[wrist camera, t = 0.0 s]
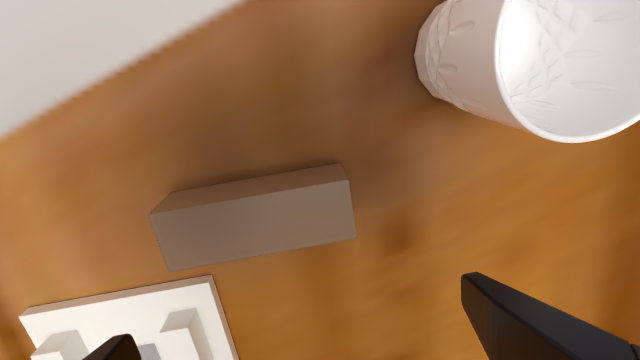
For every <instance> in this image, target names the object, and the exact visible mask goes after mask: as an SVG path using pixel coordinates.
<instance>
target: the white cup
mask: <svg viewBox="0 0 640 360" xmlns="http://www.w3.org/2000/svg"><path fill="white" fill-rule="evenodd" d="M414 58H415V62H416V67H417V72H418V77H419V80H420V81H421V82H422V83H423V85H424V86H425V87H426V88H427V90H428V91H429V92H430V93H431V95H432V96H433V97H436V98H438V99H441V100H443V101H446V102H448V103H450V104H453V105H455V106H456V107H458V108H459V109H462V110H465V111H468V112H470V113H472V114H475V115H478V116H480V117H483V118H486V119H489V120H492V121H495V122H498V123H501V124H504V125H507V126H510V127H513V128H516V129H519V130H522V131H525V132H528V133H531V134H534V135H537V136H540V137H542V138H545V139H548V140H552V141H557V142H564V143H581V142H589V141H594V140H598V139H601V138H605V137H608V136H610V135H613V134H615V133H617V132H619V131H621V130H623V129H625V128H627V127H629V126H631V125H632V124H634V123H635V122H637V121H638V120H640V0H446V1H444V2H443V3H441V4H439V5H438V6H436V7H435V8H434V9H433V11H432V12H431V14H430V15H429V17H428V18H427V20H426V21H425V23H424V24H423V25H422V27H421V28H420V30H419V34H418V39H417V44H416V49H415V54H414Z"/></svg>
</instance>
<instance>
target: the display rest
mask: <svg viewBox="0 0 640 360" xmlns="http://www.w3.org/2000/svg"><path fill="white" fill-rule="evenodd" d="M19 319H20V320H21V322H22V324H23V326H24V327H25V329H26V331H27V332H28V334H29V336H30V338H31V339H32V341H33V343H34V345H35V346H36V348H37V350H36V351H35V352H34V353H33V354H32V355H31V356H30V357H31V359H32V360H82V359H83V358H85V357H86V356H87V355H89V354H90V353H91V352H93V351H94V350H95V349H97V348H98V347H99V346H101V345H102V344H103V343H104V342H106V341H107V340H108V339H110V338H111V337H113V336H116V335H121V334H131V335H132V336H133V338H134V341H135V343H136V345H137V348H138V350H139V352H140V354H141V358H142V360H239V358H238V355H237V352H236V349H235V345H234V342H233V339H232V336H231V333H230V330H229V327H228V324H227V320H226V317H225V314H224V311H223V308H222V305H221V302H220V298H219V295H218V292H217V289H216V286H215V283H214V280H213V277H212V275H206V276H201V277H195V278H189V279H184V280H178V281H173V282H167V283H162V284H156V285H151V286H145V287H139V288H134V289H128V290H123V291H117V292H112V293H106V294H101V295H95V296H90V297H84V298H78V299H73V300H67V301H62V302H56V303H51V304H45V305H40V306H34V307H29V308H28V309H27V310H26V311H24V312H23V313H22V314H21V315H20V316H19Z"/></svg>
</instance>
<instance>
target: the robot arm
mask: <svg viewBox="0 0 640 360" xmlns="http://www.w3.org/2000/svg"><path fill="white" fill-rule="evenodd" d="M461 301H462V305H463V308H464V310H465V312H466V314H467V316H468V318H469V320H470V322H471V324H472V326H473V328H474V330H475V332H476V334H477V336H478V338H479V340H480V342H481V344H482V346H483V348H484V350H485V352H486V354H487V356H488V357H489V359H490V360H640V347H639V346H637V345H635V344H630V343H629V342H628V341H626V340H624V339H622V338H619V337H617V336H615V335H613V334H611V333H609V332H606V331H604V330H602V329H600V328H598V327H596V326H593V325H591V324H589V323H587V322H585V321H583V320H580V319H578V318H576V317H574V316H572V315H570V314H567V313H565V312H563V311H561V310H559V309H557V308H554V307H552V306H550V305H548V304H546V303H544V302H541V301H539V300H537V299H535V298H533V297H531V296H528V295H526V294H524V293H522V292H520V291H518V290H515V289H513V288H511V287H509V286H507V285H505V284H502V283H500V282H498V281H496V280H494V279H492V278H490V277H487V276H485V275H483V274H481V273H478V272H472V273H467V274H463V275H462V277H461ZM82 360H142V358H141V354H140V352H139V350H138V348H137V345H136V343H135V341H134V338H133V336H132V335H131V334H121V335H116V336H113V337H111V338H110V339H108V340H107V341H106V342H104V343H103V344H102V345H101V346H99V347H98V348H97V349H95V350H94V351H93V352H91V353H90V354H89V355H87V356H86V357H85V358H83V359H82Z"/></svg>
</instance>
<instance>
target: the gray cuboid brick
mask: <svg viewBox="0 0 640 360" xmlns="http://www.w3.org/2000/svg"><path fill="white" fill-rule="evenodd" d="M148 217H149V219H150V222H151V225H152V227H153V230H154V233H155V236H156V238H157V241H158V244H159V246H160V249H161V252H162V255H163V257H164V260H165V263H166V265H167V268H168V271H169V272H173V271H178V270H184V269H189V268H195V267H200V266H206V265H211V264H217V263H222V262H228V261H234V260H239V259H245V258H250V257H256V256H261V255H267V254H272V253H278V252H283V251H289V250H295V249H300V248H306V247H311V246H317V245H322V244H328V243H333V242H339V241H344V240H350V239H356V238H357V235H356V228H355V221H354V214H353V207H352V199H351V192H350V185H349V179H348V177H347V175H346V173H345V171H344V169H343V167H342V165H341V163H336V164H330V165H324V166H319V167H313V168H307V169H302V170H296V171H290V172H284V173H279V174H273V175H267V176H262V177H256V178H250V179H245V180H239V181H233V182H227V183H222V184H216V185H210V186H205V187H199V188H193V189H188V190H182V191H176V192H171V193H170V194H169V195H168V196H167V197H166V198H165V199H164V200H163V201H162V202H161V203H160V204H159V205H158V206H156V207H155V208H154V209H153V210H152V211H151V212H150V213H149V214H148Z"/></svg>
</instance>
